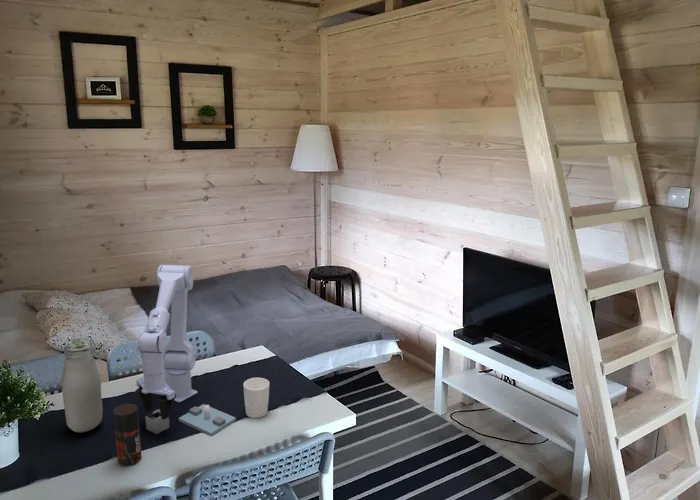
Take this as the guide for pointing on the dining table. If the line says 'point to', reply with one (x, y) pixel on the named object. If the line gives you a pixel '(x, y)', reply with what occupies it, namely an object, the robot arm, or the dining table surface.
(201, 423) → the shaft base
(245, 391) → the white cup
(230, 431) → the dining table surface
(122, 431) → the deodorant
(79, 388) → the glass bottle
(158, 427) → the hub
